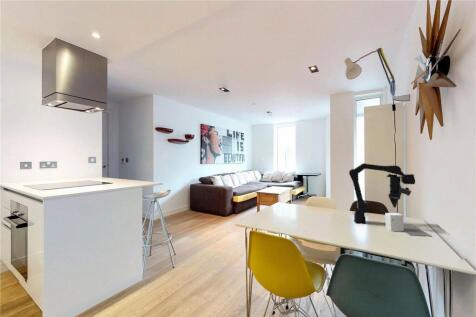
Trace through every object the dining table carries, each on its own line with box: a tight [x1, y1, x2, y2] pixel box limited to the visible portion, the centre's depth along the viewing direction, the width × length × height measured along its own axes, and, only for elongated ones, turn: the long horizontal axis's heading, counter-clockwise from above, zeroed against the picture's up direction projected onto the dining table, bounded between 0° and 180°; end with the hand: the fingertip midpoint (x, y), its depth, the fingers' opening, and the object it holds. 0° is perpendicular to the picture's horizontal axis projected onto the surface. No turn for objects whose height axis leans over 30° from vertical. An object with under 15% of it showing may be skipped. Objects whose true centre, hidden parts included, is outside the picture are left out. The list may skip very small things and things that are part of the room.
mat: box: [403, 225, 433, 238], centre depth 131 cm, size 11×18×1 cm, turn 164°
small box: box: [384, 212, 405, 232], centre depth 133 cm, size 8×6×10 cm
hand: (395, 206), depth 141 cm, fingers open, 9 cm apart
